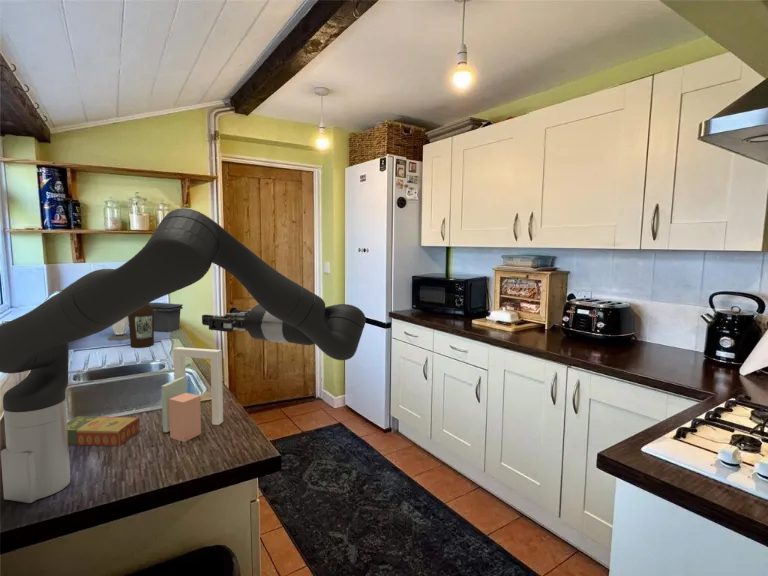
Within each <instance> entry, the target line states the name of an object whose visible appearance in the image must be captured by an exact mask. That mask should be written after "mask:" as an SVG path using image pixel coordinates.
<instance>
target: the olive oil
mask: <svg viewBox="0 0 768 576" xmlns="http://www.w3.org/2000/svg"><path fill="white" fill-rule="evenodd" d="M128 321H129V322H128V328H129V329H128V330H129V335H130V339H129V341H130V347H131V348H133V349H134V348H135V349H139V348H140V349H141V348H149V347H152V346H154V345H155V334H154V333H155V331H154V310H153V308H152V307H151V306H150V305H149V304H147V305H145V306H144V307H142V308H140V309H139V310H137V311H135V312H133V313H132V314H130V315H128Z"/></svg>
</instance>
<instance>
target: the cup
mask: <svg viewBox="0 0 768 576" xmlns="http://www.w3.org/2000/svg"><path fill="white" fill-rule="evenodd" d="M111 328H112V330H113V332H114V336H109V337H107V338H106V339H108V341H112V340H116V341H125V339H126V340H130V334H128V335H127V334H126V333H127V329H128V328H129V321H128V316H127V317H125V318H124V319H122V320H121V321H119V322H117V323H115V324H114V325H112V326H111Z"/></svg>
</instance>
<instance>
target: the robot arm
mask: <svg viewBox="0 0 768 576" xmlns="http://www.w3.org/2000/svg"><path fill="white" fill-rule="evenodd" d="M212 264H215V265H216V266H219V267H220V268H221V269H223V270H225V271H227V272H228V273H229V274H231V275H232V276H233V277H234V279H236V280H237V281H238V282H239V283H240V284H241V285H242V286H243V287H244V288H245V289H246V291H247V292H248V293H249V294H250V295H251V297H252V298H253V299H254V300H255V301H256V303H257V305H255V306H253V307H252V308H251V309H246V310H243V309H232V312H231V313H229V312H227V313H225V314H224V315H216V314H215V315H212V314H202V315H201V324H202V325H203V326H208V330H210V331H216V332H217V331H218V332H227V333H232V332H234V331H240V332H247V333H248V334H249V336H250V337H252V339H255V340H258V341H267V342H273V343H280V344H281V343H282V344H297V345H302V346H303V345H304V346H313V345H316V346H317V347H318V349H319V350H321V352H323V353H324V354H325V355H326V356H328V357H329V358H332V359H334V360H337V361H347V360H350V359H351V358H353V357H354V356H355V354H356V353H357V351H358V347H359V343H360V340H361V338H362V335H363V331H364V328H365V325H366V321H367V320H366V316H365V313H364V312H363V311H362V310H361V309H360V308H359V307H357V306H356V305H352V304H347V303H346V304H345V303H340V304H333V305H329V306H326V302H325V301H324V299H323V298H322V297H321V296H319V295H317V294H316V293H314V292H312V291H310V290H309V289H307V288H305V287H304V286H302V285H300V284H299V283H297V282H295V281H293V280H291V279H290V278H289V277H286V276H285V275H283V274H282V273H280V271H277V270H276V269H275V268H273V267H272V266H270V264H269V263H267V262H266V261H264V260H263V259H262V258H260V257H259V255H257V254H255V253H254V252H253V251H252V250H251V249H249V248H248V247H247V246H246V245H245V244H243V243H242V242H241V241H239V239H237V238H235V236H233V235H232V234H231V233H230V232H228V231H227V230H226V229H224V228H223V227H222V226H221V225H220V224H218V223H217V222H216V221H214V220H213V219H212V218H210V217H209V216H207V215H205V214H204V213H202V212H201V211H198V210H195V209H192V208H185V207H184V208H183V207H182V208H181V207H180V208H176V209H174V210H173V209H172V210H170V211H169V212H168V213H167V214H166V215H165V216H164V217H163V218H162V219H161V221H160V222H159V224H158V226H157V228H155V230H154V232H153V233H152V235H151V236H150V238H149V239H148V241H147V242H146V244H145V245H144V246H143V247H142V248H141V249H140V250H139V251H138V252H137V253H136V254H135V255H134V256H133V257H132V258H130V259H129V260H127V261H126V262H125V263H123V264H122V265H120V266H119V267H117V268H115V269H114V268H102V269H97V270H96V269H95V270H93V271H91V272H89V273H87V274H85V275H83V276H81V277H80V278H78V279H76V280H75V281H73V282H72V283H70V284H69V285H68V286H66V287H64V288H63V289H62V290H61V291H60V292H58V293H56V294H55V295H53V296H52V297H50V298H48V299H46V300H45V301H44V302H42V303H40V304H39V305H38V306H36V307H35V308H33V309H31V310H30V311H28V312H27V313H25V314H22V315H21V316H18V317H16V318H14V319H12V320H10V321H7V322H5V323H3V324H0V373H3V374H18V373H23V372H28V371H29V373H28V374H27V376H26V377H24V379H23V380H22V381H20V382H18V383H17V384H16V385H14V386H13V387H10V388H9V389H8V390H7V391H6V392H5V393H4V394H3V397H2V406H3V407H2V408H3V419H4V420H3V421H4V433H5V434H4V435H5V447H6V448H4V449H2V450H0V462H1V464H0V466H1V474H2V475H1V477H2V491H3V500H7V501H13V502H21V503H26V504H31V503H34V502H35V501H37V500H40V499H43V498H47V497H49V496H52V495H55V494H56V493H58V492H61V491H62V490H64V489H65V488H66V487H67V486H68V485H69V484H70V482H71V470H70V467H71V466H70V452H69V451H70V449H69V444H68V431H67V422H68V417H67V414H68V413H67V399H66V391H67V388H68V386H69V385H68V384H69V343H73V342H75V341H78V340H82V339H84V338H88V337H90V336H93V335H95V334H98V333H100V332H102V331H104V330H106V329H109V328H110V327H112V325H114V324H115V323H117V322H119V321H121V320H122V319H124V318H125V317H127V316H128V315H130V314H132V313H133V312H135V311H137V310H139V309H140V308H142V307H144V306H145V305H147V304H148V303H153V302H154V301H156V300H158V299H160V298H163V297H165V296H168V295H170V294H172V293H175V292H177V291H179V290H182V289H185V288H187V287H189V286H191V285H194V284H195V283H197V282H198V281H200V280H202V279H203V277H205V276H206V274H207V273H208V272H209V270H210V268H211V267H212ZM230 317H231V318H230Z"/></svg>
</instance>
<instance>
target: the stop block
mask: <svg viewBox="0 0 768 576" xmlns="http://www.w3.org/2000/svg"><path fill="white" fill-rule="evenodd" d="M201 412H202V411H201V395H199V394H193V393H191V392H190V393H189V392H187V393H184V394H181V395H178V396H176V397H173V398H170V399H169V414H170V431H169V434H170V436H169V438H170V439H173V440H176V441H180V442H183V443H186V442H187V441H190V440H191V439H194V438H195V437H198V436H200V435H201V434H202V421H201V419H202V418H201V415H202V414H201Z"/></svg>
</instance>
